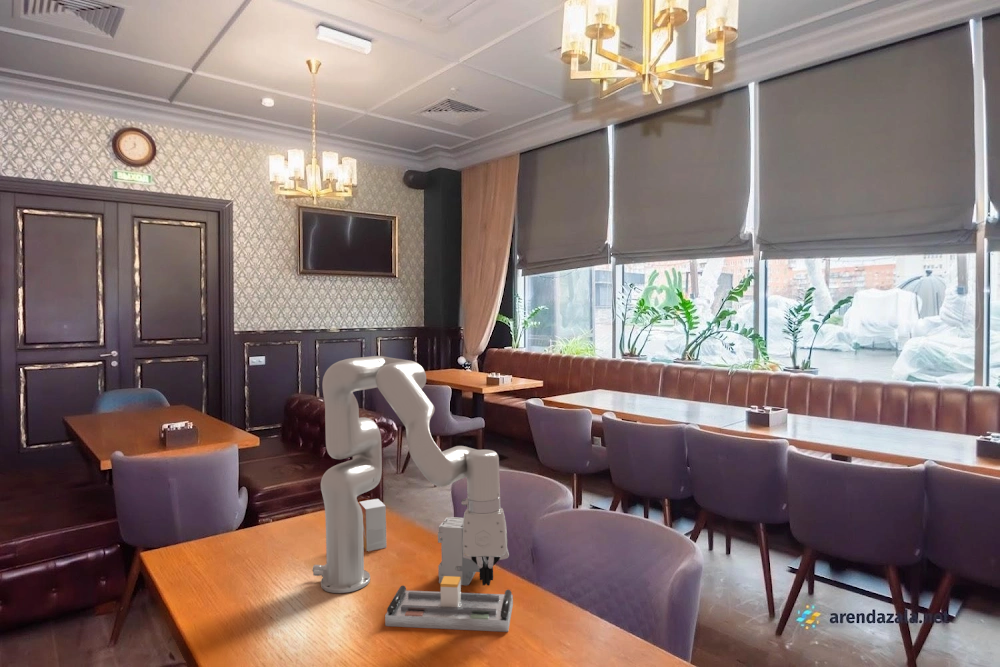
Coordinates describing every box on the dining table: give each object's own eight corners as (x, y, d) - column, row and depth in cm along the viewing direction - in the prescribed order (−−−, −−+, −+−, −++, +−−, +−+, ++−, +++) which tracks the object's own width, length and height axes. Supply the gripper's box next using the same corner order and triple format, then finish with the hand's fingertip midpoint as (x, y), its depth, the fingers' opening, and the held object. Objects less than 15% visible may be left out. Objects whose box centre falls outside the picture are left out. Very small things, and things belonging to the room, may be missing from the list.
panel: (385, 626, 131) (385, 608, 131) (400, 600, 143) (399, 583, 143) (508, 631, 128) (507, 613, 128) (512, 604, 140) (512, 588, 140)
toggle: (440, 607, 134) (440, 583, 134) (444, 598, 138) (444, 576, 138) (457, 608, 134) (457, 584, 133) (460, 599, 138) (460, 576, 137)
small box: (359, 542, 180) (358, 501, 180) (379, 538, 183) (378, 498, 183) (366, 552, 173) (365, 508, 173) (387, 547, 176) (386, 505, 176)
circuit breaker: (491, 587, 150) (490, 530, 149) (438, 582, 152) (437, 526, 152) (497, 574, 157) (496, 519, 156) (446, 570, 160) (446, 516, 159)
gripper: (449, 509, 131) (452, 589, 132) (514, 509, 130) (517, 591, 130) (455, 499, 139) (457, 575, 139) (517, 499, 137) (520, 576, 137)
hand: (486, 582), depth 135 cm, fingers closed
